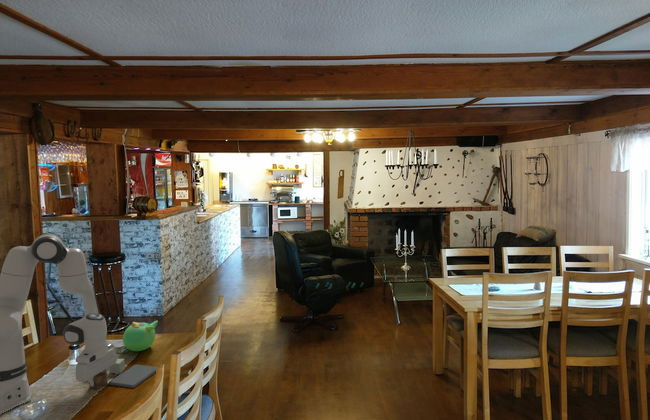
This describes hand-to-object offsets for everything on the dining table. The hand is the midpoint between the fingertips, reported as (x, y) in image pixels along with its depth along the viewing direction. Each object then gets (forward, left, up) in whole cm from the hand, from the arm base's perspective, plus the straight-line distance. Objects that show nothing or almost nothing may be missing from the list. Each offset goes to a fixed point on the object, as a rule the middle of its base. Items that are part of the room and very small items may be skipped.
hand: (98, 382), depth 194 cm
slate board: (+11, -10, -2) cm, 15 cm away
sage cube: (+14, +2, -2) cm, 14 cm away
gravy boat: (+39, +8, -2) cm, 40 cm away
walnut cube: (0, 0, -2) cm, 2 cm away
